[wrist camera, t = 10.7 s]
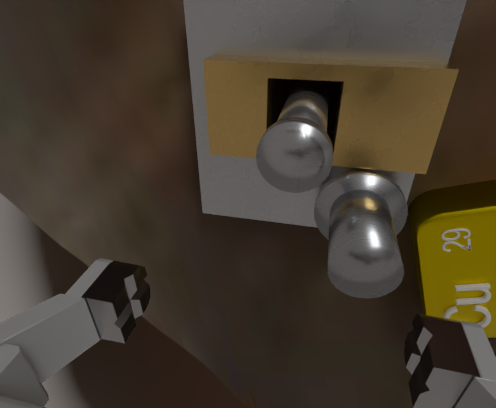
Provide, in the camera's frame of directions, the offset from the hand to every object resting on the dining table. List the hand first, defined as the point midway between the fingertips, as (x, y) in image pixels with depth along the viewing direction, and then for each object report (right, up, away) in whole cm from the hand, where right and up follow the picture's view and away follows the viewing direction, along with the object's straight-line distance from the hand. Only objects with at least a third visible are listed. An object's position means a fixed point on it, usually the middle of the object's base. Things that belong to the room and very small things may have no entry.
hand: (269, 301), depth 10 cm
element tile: (+23, -1, +21) cm, 31 cm away
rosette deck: (+4, +10, +18) cm, 21 cm away
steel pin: (+4, +12, +17) cm, 21 cm away
